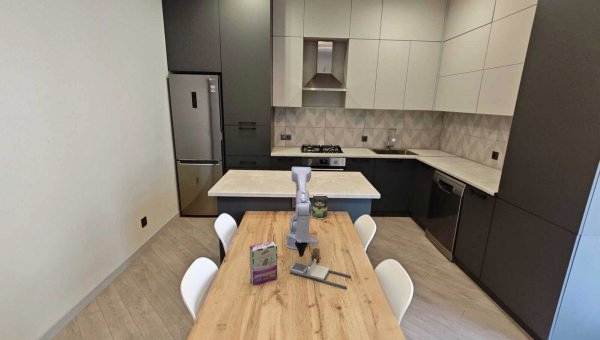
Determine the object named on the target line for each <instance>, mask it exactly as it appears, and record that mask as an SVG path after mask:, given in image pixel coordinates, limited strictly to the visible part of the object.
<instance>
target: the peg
mask: <svg viewBox="0 0 600 340" xmlns="http://www.w3.org/2000/svg"><path fill="white" fill-rule="evenodd" d="M311 250H312V251H311V262H312V261H313V260H314V259H316V264H318V263H319V262H320V253H321V250H320V248H316V247H315V248H312V249H311Z"/></svg>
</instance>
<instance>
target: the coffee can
mask: <svg viewBox="0 0 600 340" xmlns="http://www.w3.org/2000/svg"><path fill="white" fill-rule="evenodd" d="M328 201H329V197H328V196H327V195H325V196H314V195H313V196H312V207H311V217H312V216H313V217H314V218H313V217H312V218H313V219H315V218H317V219H316V220H325V219H327V218H326V217H328V216H327V215H328V203H329V202H328ZM324 218H325V219H324Z"/></svg>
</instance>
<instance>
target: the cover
mask: <svg viewBox="0 0 600 340" xmlns="http://www.w3.org/2000/svg"><path fill="white" fill-rule="evenodd" d="M309 265H310V266H309V267H308V270H307V276H310V277H314V278H317V279H321V280H324V279H325V277H326V275H327V273H328V271H329V270H330V268H329V267H326V266H322V265H319V264H317V263H316V259H314V260H313V261H312V260H311V262H310V263H309Z"/></svg>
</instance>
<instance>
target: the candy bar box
mask: <svg viewBox="0 0 600 340" xmlns="http://www.w3.org/2000/svg"><path fill="white" fill-rule="evenodd" d="M249 272H250V273H249V276H250V277H249V278H250V282H251V283H252V285H253V286H256V285H260V284H264V283H267V282H270V281H274V280H277V279H278V244H277V243H276V242H275V241H274V240H271V241H266V242H261V243H257V244H251V245H249Z"/></svg>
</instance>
